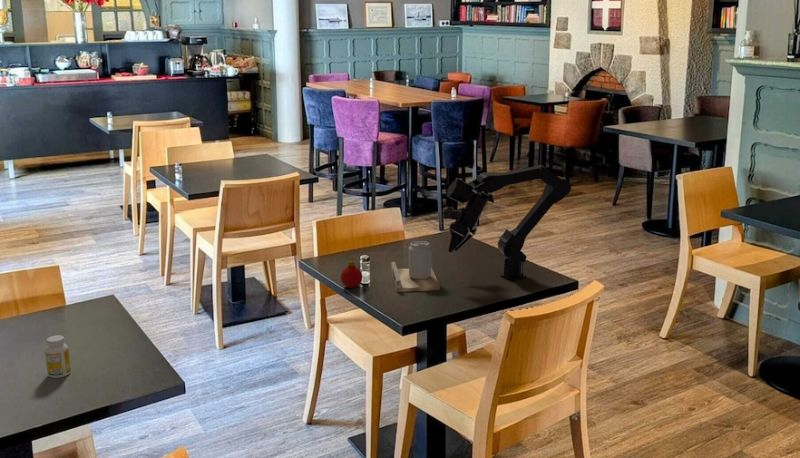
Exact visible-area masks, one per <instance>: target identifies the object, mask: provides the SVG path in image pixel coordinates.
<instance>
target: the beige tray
mask: <svg viewBox="0 0 800 458" xmlns="http://www.w3.org/2000/svg"><path fill="white" fill-rule="evenodd" d="M391 275H392V280H393V283H394V286H395V290H396V293H400V292H426V291H427V292H428V291H441V286H440V283H439V281H438V279H437V277H436V274H435V272H434V270H433V268H432V267H431V276H430V277H429V278H428V279H425V280H414V279H412V278H411V277H410V276H409V268H397V263H396V261H391Z"/></svg>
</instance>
